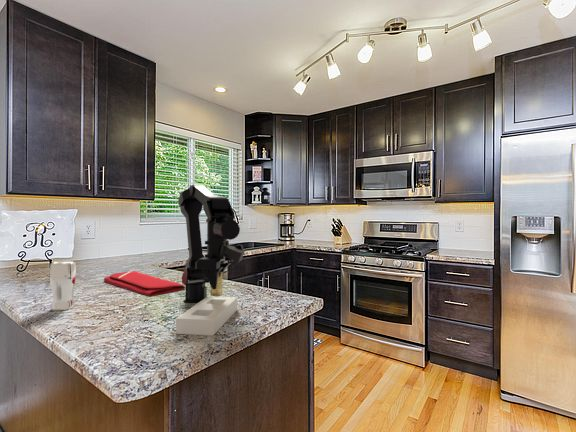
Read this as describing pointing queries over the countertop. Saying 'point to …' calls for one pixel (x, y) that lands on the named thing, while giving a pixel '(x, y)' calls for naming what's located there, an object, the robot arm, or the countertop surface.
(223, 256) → the robot arm
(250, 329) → the countertop surface
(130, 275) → the dish drying mat
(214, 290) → the cylinder
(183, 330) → the block
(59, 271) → the white carton
